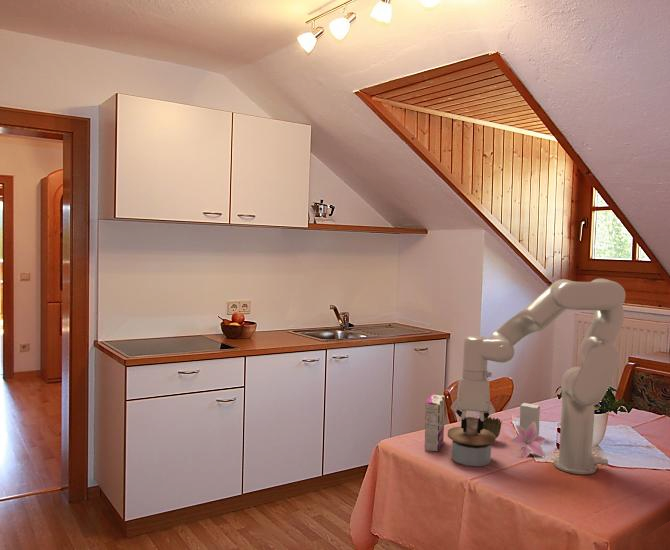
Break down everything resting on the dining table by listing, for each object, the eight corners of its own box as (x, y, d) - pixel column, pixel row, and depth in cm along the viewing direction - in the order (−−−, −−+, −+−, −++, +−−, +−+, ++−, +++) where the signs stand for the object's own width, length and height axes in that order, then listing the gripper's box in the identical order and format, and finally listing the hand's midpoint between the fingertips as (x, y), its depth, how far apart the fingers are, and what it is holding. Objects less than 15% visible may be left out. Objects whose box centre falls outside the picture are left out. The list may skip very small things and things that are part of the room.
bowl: (488, 455, 205) (489, 437, 204) (491, 468, 193) (492, 449, 192) (451, 451, 207) (452, 434, 206) (451, 465, 195) (452, 446, 195)
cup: (502, 446, 213) (504, 423, 213) (481, 445, 214) (482, 422, 213) (497, 438, 221) (498, 416, 220) (476, 438, 221) (477, 416, 220)
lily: (503, 457, 206) (514, 437, 201) (506, 434, 216) (516, 414, 210) (539, 472, 204) (550, 452, 199) (540, 447, 214) (551, 428, 209)
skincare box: (538, 438, 223) (540, 405, 222) (535, 441, 219) (537, 408, 218) (521, 434, 226) (523, 402, 225) (518, 438, 222) (520, 405, 221)
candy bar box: (429, 439, 218) (431, 393, 217) (443, 441, 216) (445, 395, 215) (423, 450, 207) (425, 402, 206) (438, 452, 206) (440, 403, 205)
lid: (494, 431, 205) (495, 413, 205) (497, 447, 190) (498, 428, 190) (447, 427, 208) (448, 409, 208) (447, 442, 193) (448, 423, 193)
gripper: (500, 374, 200) (497, 430, 201) (447, 370, 203) (445, 425, 204) (502, 379, 193) (499, 437, 194) (447, 375, 196) (444, 432, 197)
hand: (471, 430), depth 199 cm, fingers closed on lid, 4 cm apart
